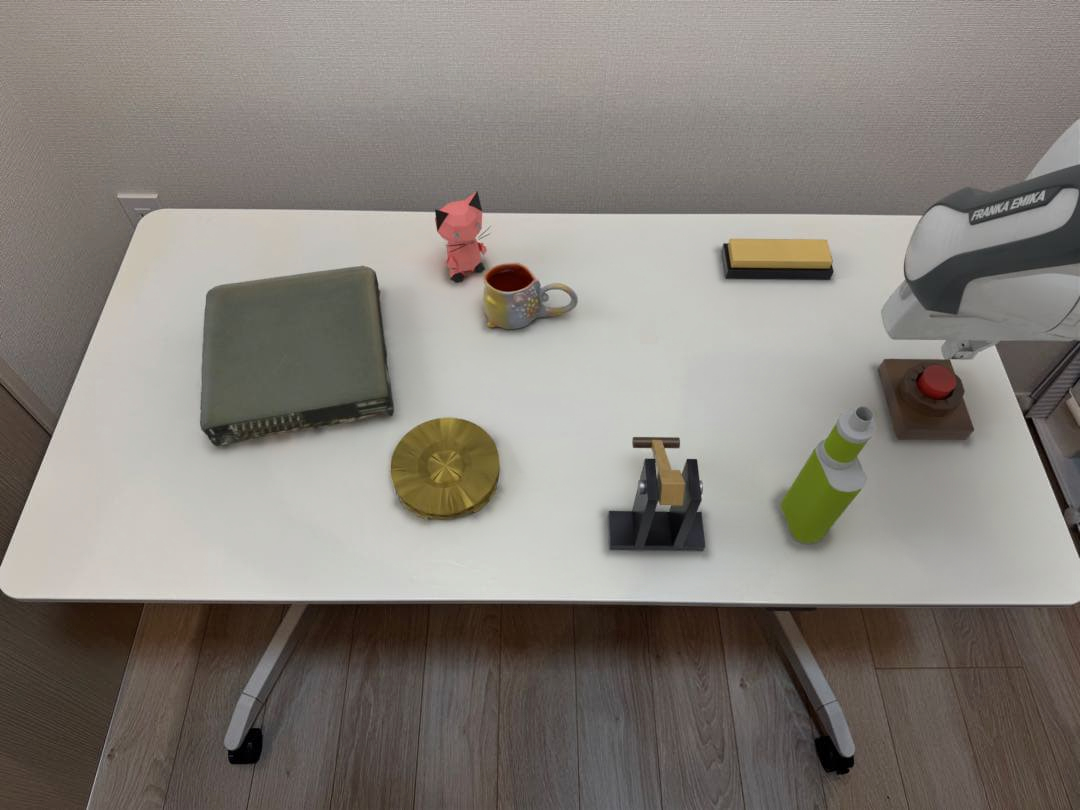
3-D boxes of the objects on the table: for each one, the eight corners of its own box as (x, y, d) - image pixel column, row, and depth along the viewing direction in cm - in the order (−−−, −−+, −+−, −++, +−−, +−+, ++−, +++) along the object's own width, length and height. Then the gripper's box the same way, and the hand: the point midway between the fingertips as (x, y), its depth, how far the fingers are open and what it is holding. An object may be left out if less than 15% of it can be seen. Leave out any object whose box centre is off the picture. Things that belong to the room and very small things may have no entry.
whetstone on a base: (830, 279, 102) (837, 264, 100) (725, 278, 102) (730, 263, 100) (823, 252, 105) (830, 236, 102) (720, 251, 105) (725, 235, 102)
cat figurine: (453, 295, 100) (444, 228, 90) (428, 262, 103) (417, 194, 93) (499, 273, 103) (496, 205, 92) (473, 241, 106) (467, 172, 95)
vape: (808, 490, 85) (874, 391, 69) (828, 540, 82) (904, 449, 65) (776, 496, 85) (835, 398, 68) (795, 546, 82) (863, 456, 65)
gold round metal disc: (396, 529, 83) (393, 521, 81) (390, 434, 89) (387, 425, 87) (506, 513, 84) (506, 505, 82) (493, 421, 90) (492, 411, 88)
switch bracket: (608, 513, 84) (618, 457, 73) (699, 514, 84) (723, 458, 73) (609, 551, 81) (620, 499, 71) (703, 552, 81) (729, 500, 71)
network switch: (215, 470, 86) (199, 448, 82) (196, 316, 98) (180, 290, 94) (417, 413, 91) (411, 390, 86) (374, 272, 102) (368, 246, 98)
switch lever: (631, 450, 84) (632, 430, 83) (677, 450, 84) (679, 430, 83) (645, 505, 72) (646, 483, 72) (697, 505, 72) (700, 483, 72)
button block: (965, 439, 89) (982, 422, 86) (896, 439, 89) (911, 421, 86) (942, 369, 94) (957, 350, 91) (877, 369, 94) (890, 349, 91)
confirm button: (953, 399, 88) (960, 391, 86) (921, 399, 88) (928, 391, 86) (944, 374, 90) (951, 365, 88) (913, 373, 90) (920, 365, 88)
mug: (478, 329, 97) (475, 294, 92) (489, 288, 101) (487, 253, 95) (572, 342, 96) (574, 308, 91) (579, 300, 100) (582, 265, 94)
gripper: (922, 293, 70) (866, 377, 82) (1144, 295, 70) (1057, 379, 82) (905, 242, 74) (854, 330, 85) (1117, 244, 74) (1037, 332, 85)
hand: (955, 354), depth 84 cm, fingers closed
